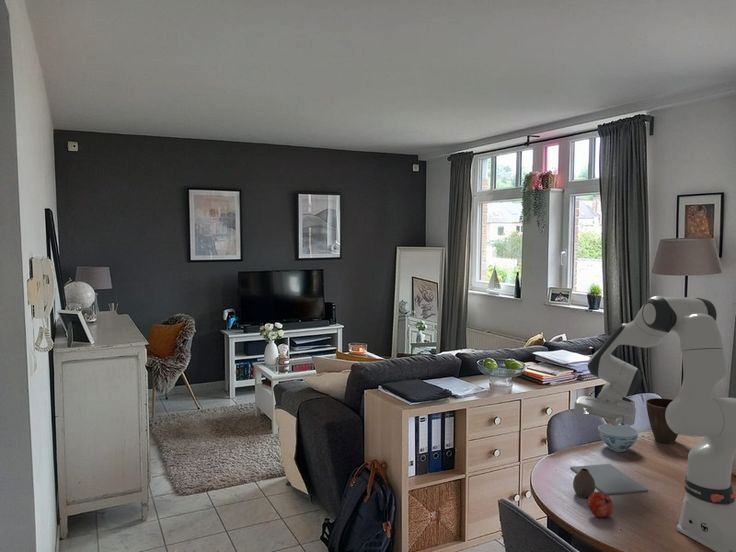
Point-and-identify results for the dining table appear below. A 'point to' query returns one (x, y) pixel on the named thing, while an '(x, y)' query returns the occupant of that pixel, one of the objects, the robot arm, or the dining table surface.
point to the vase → (584, 483)
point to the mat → (611, 479)
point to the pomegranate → (600, 504)
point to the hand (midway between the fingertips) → (599, 419)
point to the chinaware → (618, 436)
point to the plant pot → (660, 420)
